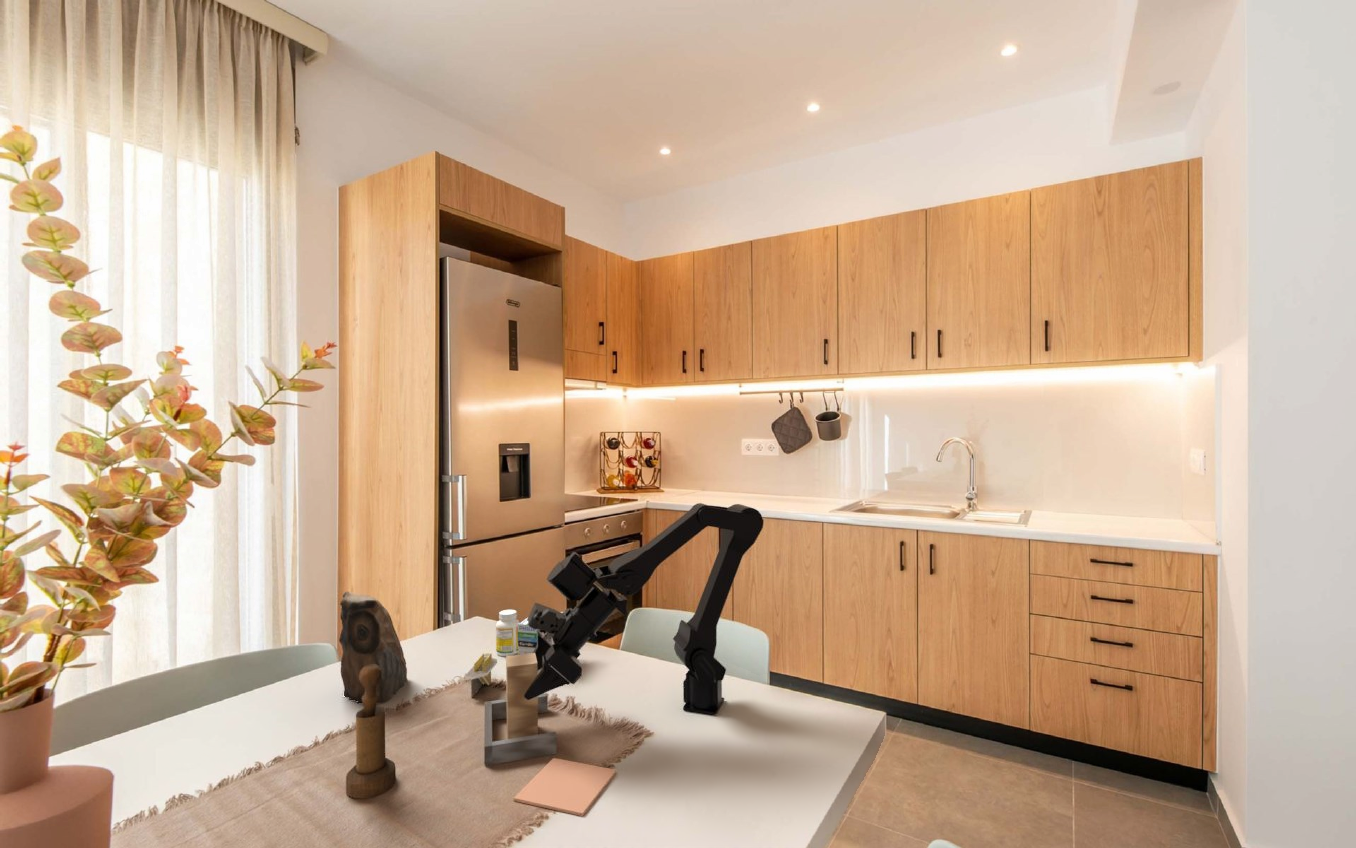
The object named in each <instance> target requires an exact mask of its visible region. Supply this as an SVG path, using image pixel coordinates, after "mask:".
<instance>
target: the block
mask: <svg viewBox="0 0 1356 848" xmlns="http://www.w3.org/2000/svg"><path fill="white" fill-rule="evenodd" d="M505 657H506V658H505V659H506V660H505V661H506V663H505V664H506V665H505V669H506V670H505V671H506V672H505V673H506V675H505V677H506V682H505V683H506V684H505V686H506V693H505V694H506V699H507V718H506V736H507V737H506V740H507V739H513V738H520V737H526V736H532V735H538V734H539V713H538V696H537V697H535V698H532V699H530V700H527V699H526V698H525V697H524V694H525V693H526V691H527V690H528V688H529V687H530V685H531V684H532V682H533V681H534V680H535V678H536V677H537V659H536V654H535V653H530V654H521V655H518V654H515V655H512V656H505Z"/></svg>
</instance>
